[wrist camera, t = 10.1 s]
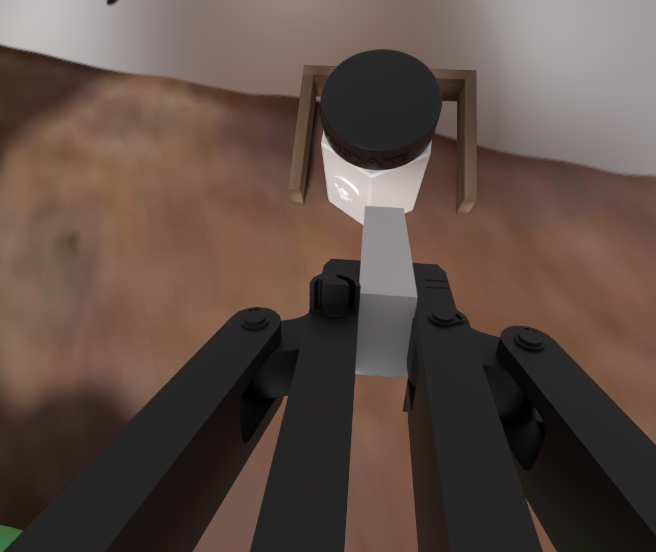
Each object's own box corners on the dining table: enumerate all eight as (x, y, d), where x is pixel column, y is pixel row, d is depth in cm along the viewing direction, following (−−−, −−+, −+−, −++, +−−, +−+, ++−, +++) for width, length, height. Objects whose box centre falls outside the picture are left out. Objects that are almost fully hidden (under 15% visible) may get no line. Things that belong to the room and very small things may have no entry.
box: (293, 203, 39) (288, 188, 37) (307, 87, 43) (304, 65, 40) (467, 213, 38) (476, 199, 35) (467, 93, 42) (476, 70, 39)
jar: (308, 190, 40) (290, 106, 28) (361, 130, 41) (364, 26, 30) (385, 244, 38) (399, 177, 26) (437, 179, 39) (472, 89, 28)
